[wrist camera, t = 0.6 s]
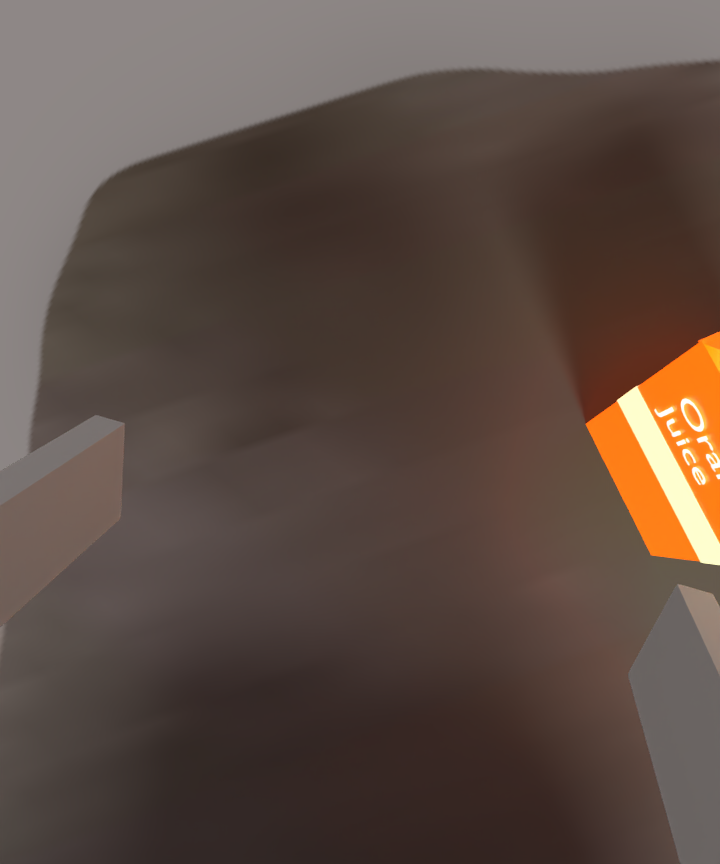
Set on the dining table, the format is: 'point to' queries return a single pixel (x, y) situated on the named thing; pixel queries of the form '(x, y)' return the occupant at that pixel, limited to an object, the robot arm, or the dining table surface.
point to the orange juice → (670, 454)
